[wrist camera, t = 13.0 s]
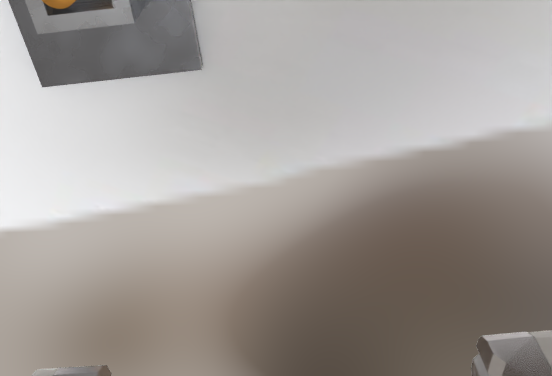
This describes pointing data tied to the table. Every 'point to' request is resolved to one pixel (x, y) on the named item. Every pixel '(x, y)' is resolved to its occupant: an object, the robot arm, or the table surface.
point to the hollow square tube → (83, 14)
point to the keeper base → (114, 45)
